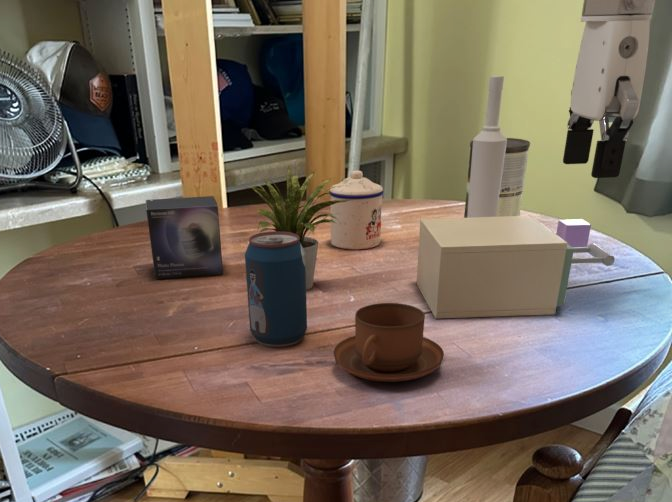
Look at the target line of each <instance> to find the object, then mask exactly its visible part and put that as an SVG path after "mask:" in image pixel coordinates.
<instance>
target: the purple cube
mask: <svg viewBox="0 0 672 502" xmlns="http://www.w3.org/2000/svg"><path fill="white" fill-rule="evenodd" d="M591 228H592V224H590V223H589V222H588V221H586V220H584V219H583V218H573V219H571V218H570V219H558V221H557V227H556V233H555V234H556V235H558V236H559V237H560V238H562V239H563V240H564V241H566V242H567V244H568V245H570V246H571V247H588V244H589V238H590V233H591Z"/></svg>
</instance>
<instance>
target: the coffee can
mask: <svg viewBox="0 0 672 502" xmlns="http://www.w3.org/2000/svg"><path fill="white" fill-rule="evenodd" d="M506 138H507V144H506V151H505V158H504V166H503V173H502V180H501V187H500V194H499V202H498V209H497V216H496V217H505V216H521V208H522V202H523V201H522V200H523V194H524V186H525V179H526V171H527V164H528V157H529V149H530V147H531V141H529V140H528V139H523V138H516V137H515V138H514V137H506ZM469 149H470V151H469V159H468V161H469V162H468V170H467V171H468V172H467V183H466V192H465V193H466V194H465V204H464V213H463V214H464V215H463V218H467V213H468V200H469V187H470V174H471V162H472V149H473V140H471V141H470V142H469Z"/></svg>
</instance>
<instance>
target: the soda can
mask: <svg viewBox="0 0 672 502" xmlns="http://www.w3.org/2000/svg"><path fill="white" fill-rule="evenodd" d="M299 240H300V238H299V236H298V235H297V234H294V233H290V232H276V231H263V232H260V233H255V234H253V235H251V236H250V237H249V238H248V246H247V248H246V250H245V252H244V262H245V263H244V264H245V274H246V275H245V277H246V290H247V292H246V293H247V305H248V306H247V308H248V319H249V320H248V322H249V331H250V334H252V337H253V338H254V339H255V340H256V342H257V343H258V344H260V345H262V346H266V347H271V348H283V347H289V346H293V345H296V344H297V343H299V342H300V341H301V340H303V337H304V335H305V333H306V332H307V330H308V311H307V309H308V308H307V307H308V306H307V305H308V304H307V290H306V268H305V251H304V249H303V247H302V245H301V243H300V241H299Z"/></svg>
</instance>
